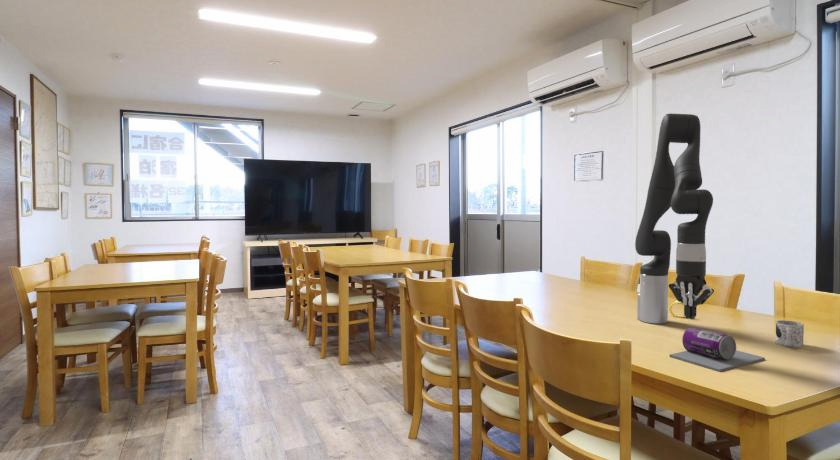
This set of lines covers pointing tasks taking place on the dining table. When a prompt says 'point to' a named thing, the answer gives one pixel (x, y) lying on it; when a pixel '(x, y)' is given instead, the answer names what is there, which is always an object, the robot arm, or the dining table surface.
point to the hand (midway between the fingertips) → (690, 318)
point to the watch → (671, 310)
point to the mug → (789, 333)
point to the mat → (717, 360)
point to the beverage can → (709, 343)
